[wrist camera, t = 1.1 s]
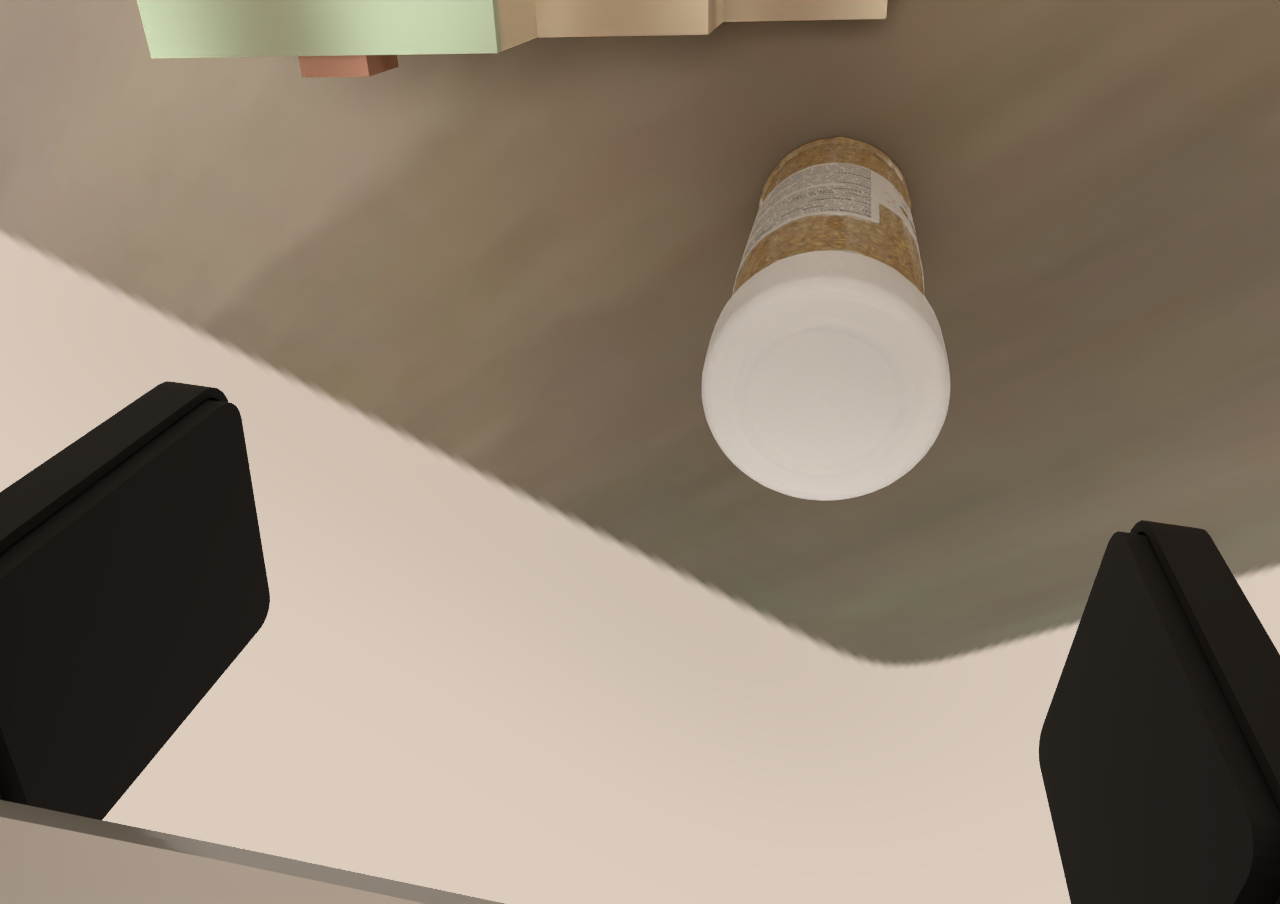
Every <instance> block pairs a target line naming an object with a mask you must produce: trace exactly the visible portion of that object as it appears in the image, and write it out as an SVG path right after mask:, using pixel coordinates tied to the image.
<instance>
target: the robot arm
mask: <svg viewBox="0 0 1280 904" xmlns="http://www.w3.org/2000/svg"><path fill="white" fill-rule="evenodd" d="M269 602H270V596H269V588H268V582H267V576H266V569H265V564H264V557H263V551H262V545H261V538H260V532H259V526H258V520H257V513H256V507H255V501H254V495H253V489H252V482H251V476H250V470H249V463H248V457H247V451H246V444H245V438H244V432H243V426H242V420H241V416H240V412H239V410H238V408H237V407H236V406H235V405H234V404H232V403H228V400H227V398H226V396H225V395H224V393H223V392H221V391H220V390H219V389H217V388H211V387H204V386H197V385H190V384H183V383H176V382H164V383H162V384H160V385H158V386H156V387H155V388H153V389H152V390H150V391H149V392H148V393H146V394H144V395H143V396H141V397H140V398H139V399H137V400H136V401H134V402H133V403H131V404H130V405H128V406H127V407H125V408H124V409H122V410H121V411H119V412H118V413H117V414H115V415H114V416H112V417H111V418H109V419H108V420H106V421H105V422H103V423H102V424H101V425H99V426H97V427H96V428H95V429H93V430H91V431H90V432H88V433H87V434H86V435H84V436H83V437H81V438H80V439H78V440H77V441H75V442H74V443H72V444H71V445H69V446H68V447H66V448H65V449H64V450H62V451H61V452H59V453H58V454H56V455H55V456H53V457H52V458H50V459H49V460H47V461H46V462H44V463H43V464H41V465H40V466H39V467H37V468H36V469H34V470H33V471H31V472H30V473H28V474H27V475H25V476H24V477H22V478H21V479H20V480H18V481H16V482H15V483H13V484H12V485H11V486H9V487H8V488H6V489H5V490H3V491H2V492H0V904H503V903H499V902H494V901H489V900H484V899H480V898H475V897H470V896H465V895H461V894H456V893H451V892H446V891H442V890H437V889H432V888H427V887H422V886H418V885H412V884H408V883H403V882H398V881H394V880H389V879H384V878H379V877H374V876H370V875H365V874H360V873H355V872H350V871H345V870H341V869H336V868H331V867H326V866H322V865H317V864H312V863H307V862H302V861H298V860H293V859H288V858H283V857H279V856H273V855H268V854H264V853H259V852H254V851H249V850H244V849H239V848H235V847H230V846H225V845H220V844H215V843H210V842H205V841H199V840H195V839H190V838H185V837H181V836H176V835H171V834H166V833H161V832H156V831H151V830H146V829H141V828H136V827H131V826H126V825H121V824H117V823H111V822H107V821H102V819H103V818H104V817H105V816H106V815H107V813H108V812H109V811H110V810H111V808H112V807H113V806H114V805H115V804H116V802H117V801H118V800H119V799H120V798H121V796H122V795H123V794H124V793H125V792H126V790H127V789H128V788H129V786H130V785H131V784H132V783H133V782H134V781H135V779H136V778H137V777H138V776H139V775H140V773H141V772H142V771H143V770H144V769H145V767H146V766H147V765H148V764H149V762H150V761H151V760H152V759H153V758H154V756H155V755H156V754H157V753H158V751H159V750H160V749H161V748H162V747H163V745H164V744H165V743H166V742H167V741H168V739H169V738H170V737H171V736H172V735H173V733H174V732H175V731H176V730H177V728H178V727H179V726H180V725H181V724H182V722H183V721H184V720H185V719H186V718H187V716H188V715H189V714H190V713H191V712H192V710H193V709H194V708H195V707H196V705H197V704H198V703H199V702H200V700H201V699H202V698H203V697H204V696H205V695H206V693H207V692H208V691H209V690H210V689H211V687H212V686H213V685H214V684H215V682H216V681H217V680H218V679H219V678H220V676H221V675H222V674H223V673H224V671H225V670H226V669H227V668H228V667H229V666H230V664H231V663H232V662H233V660H234V659H235V658H236V657H237V656H238V654H239V653H240V652H241V651H242V650H243V649H244V647H245V646H246V645H247V644H248V642H249V641H250V640H251V639H252V638H253V636H254V635H255V634H256V633H257V632H258V630H259V629H260V628H261V626H262V625H263V623H264V621H265V618H266V616H267V613H268V609H269ZM1039 743H1040V744H1039V761H1040V768H1041V772H1042V776H1043V781H1044V785H1045V790H1046V794H1047V798H1048V803H1049V807H1050V812H1051V816H1052V821H1053V825H1054V830H1055V833H1056V838H1057V842H1058V847H1059V852H1060V856H1061V860H1062V865H1063V869H1064V874H1065V878H1066V883H1067V887H1068V891H1069V896H1070V900H1071V904H1280V655H1279V653H1278V651H1277V650H1276V648H1275V646H1274V645H1273V643H1272V641H1271V639H1270V638H1269V636H1268V634H1267V632H1266V631H1265V629H1264V628H1263V626H1262V624H1261V622H1260V621H1259V619H1258V617H1257V616H1256V614H1255V612H1254V610H1253V609H1252V607H1251V605H1250V603H1249V602H1248V600H1247V598H1246V597H1245V595H1244V593H1243V592H1242V590H1241V588H1240V586H1239V585H1238V583H1237V581H1236V579H1235V578H1234V576H1233V574H1232V573H1231V571H1230V569H1229V567H1228V566H1227V564H1226V562H1225V561H1224V559H1223V557H1222V556H1221V554H1220V552H1219V550H1218V549H1217V547H1216V545H1215V544H1214V542H1213V540H1212V538H1211V537H1210V535H1209V534H1208V533H1207V532H1206V531H1205V530H1203V529H1199V528H1192V527H1185V526H1178V525H1171V524H1164V523H1157V522H1150V521H1143V520H1142V521H1140V522H1138V523H1136V525H1135V526H1134V527H1133V528H1132V530H1131V532H1130V533H1125V532H1116V533H1114V535H1113V536H1112V537H1111V539H1110V541H1109V543H1108V545H1107V548H1106V551H1105V554H1104V556H1103V559H1102V562H1101V565H1100V568H1099V570H1098V573H1097V576H1096V579H1095V582H1094V584H1093V587H1092V590H1091V593H1090V596H1089V598H1088V601H1087V604H1086V607H1085V610H1084V612H1083V615H1082V618H1081V621H1080V624H1079V626H1078V629H1077V632H1076V635H1075V638H1074V640H1073V643H1072V646H1071V649H1070V652H1069V654H1068V658H1067V660H1066V663H1065V666H1064V668H1063V671H1062V674H1061V677H1060V680H1059V683H1058V685H1057V688H1056V691H1055V694H1054V696H1053V699H1052V702H1051V705H1050V708H1049V711H1048V713H1047V716H1046V719H1045V722H1044V724H1043V728H1042V731H1041V736H1040V742H1039Z"/></svg>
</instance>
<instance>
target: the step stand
mask: <svg viewBox="0 0 1280 904" xmlns="http://www.w3.org/2000/svg"><path fill="white" fill-rule="evenodd" d="M887 1H888V0H137V3H138V7H139V11H140V15H141V19H142V23H143V27H144V31H145V35H146V39H147V42H148V46H149V50H150V54H151V58H209V57H277V56H299V62H300V67H301V72H302V77H356V76H372V75H375V74H378V73H381V72H384V71H387V70H390V69H393V68H396V67H398V61H397V55H411V54H479V53H499V52H502V51H504V50H507V49H510V48H512V47H515V46H517V45H520V44H522V43H525V42H527V41H530V40H533V39H535V38H541V37H598V36H654V35H708V34H710V33H711V32H712V31H713V30H714V29H715V28H717V27H718V26H719V25H720V24H721V23H723V22H750V21H800V20H851V19H886V13H887Z"/></svg>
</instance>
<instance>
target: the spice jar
mask: <svg viewBox="0 0 1280 904" xmlns="http://www.w3.org/2000/svg"><path fill="white" fill-rule="evenodd" d="M949 398H950V372H949V365H948V358H947V353H946V348H945V344H944V340H943V336H942V331H941V328H940V325H939V322H938V320H937V318H936V315H935V313H934V311H933V309H932V307H931V306H930V304H929V303H928V301H927V299H926V298H925V293H924V276H923V267H922V262H921V258H920V252H919V247H918V242H917V236H916V231H915V226H914V222H913V218H912V214H911V200H910V194H909V191H908V187H907V184H906V182H905V179H904V177H903V175H902V173H901V171H900V169H899V168H898V167H897V166H896V165H895V163H894V162H893V161H892V160H891V159H890V158H889V157H888V156H887V155H885V154H884V153H883V152H881V151H880V150H878V149H876V148H875V147H873V146H872V145H869V144H867V143H864V142H861V141H858V140H853V139H850V138H846V137H835V138H828V139H819V140H816V141H813V142H810V143H807V144H804V145H802V146H801V147H799V148H798V149H796V150H794V151H792V152H791V153H789V154H788V155H786V156H785V157H784V158H783V160H782V161H781V162H780V163H779V164H778V165H777V166H776V168H775V169H774V170H773V171H772V173H771V174H770V176H769V177H768V179H767V181H766V183H765V185H764V187H763V190H762V193H761V197H760V201H759V208H758V213H757V216H756V218H755V221H754V224H753V227H752V230H751V233H750V236H749V239H748V242H747V245H746V248H745V251H744V254H743V257H742V260H741V263H740V266H739V269H738V272H737V276H736V280H735V283H734V288H733V294H732V297H731V298H730V300H729V301H728V302H727V304H726V305H725V307H724V309H723V310H722V312H721V314H720V316H719V318H718V320H717V323H716V325H715V328H714V330H713V333H712V336H711V339H710V343H709V346H708V350H707V354H706V358H705V363H704V368H703V373H702V402H703V408H704V412H705V416H706V420H707V423H708V425H709V427H710V430H711V432H712V434H713V436H714V438H715V440H716V441H717V443H718V445H719V446H720V448H721V449H722V451H723V452H724V453H725V455H726V456H727V457H728V458H729V459H730V460H731V462H732V463H733V464H735V465H736V466H737V467H738V468H739V469H740V470H741V471H742V472H744V473H745V474H746V475H748V476H749V477H750V478H752V479H753V480H755V481H757V482H758V483H760V484H761V485H763V486H765V487H767V488H770V489H772V490H775V491H777V492H780V493H782V494H785V495H789V496H792V497H797V498H802V499H809V500H822V501H825V500H841V499H849V498H853V497H858V496H862V495H865V494H868V493H872V492H874V491H877V490H879V489H881V488H884V487H886V486H888V485H890V484H891V483H893V482H894V481H896V480H898V479H899V478H900V477H902V476H903V475H905V474H906V473H907V472H909V471H910V470H911V469H912V468H913V467H914V466H915V465H916V464H917V463H918V462H919V461H920V460H921V459H922V458H923V457H924V456H925V455H926V453H927V452H928V451H929V449H930V448H931V446H932V445H933V444H934V442H935V440H936V438H937V437H938V435H939V432H940V430H941V428H942V426H943V424H944V422H945V418H946V415H947V411H948V406H949Z"/></svg>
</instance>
